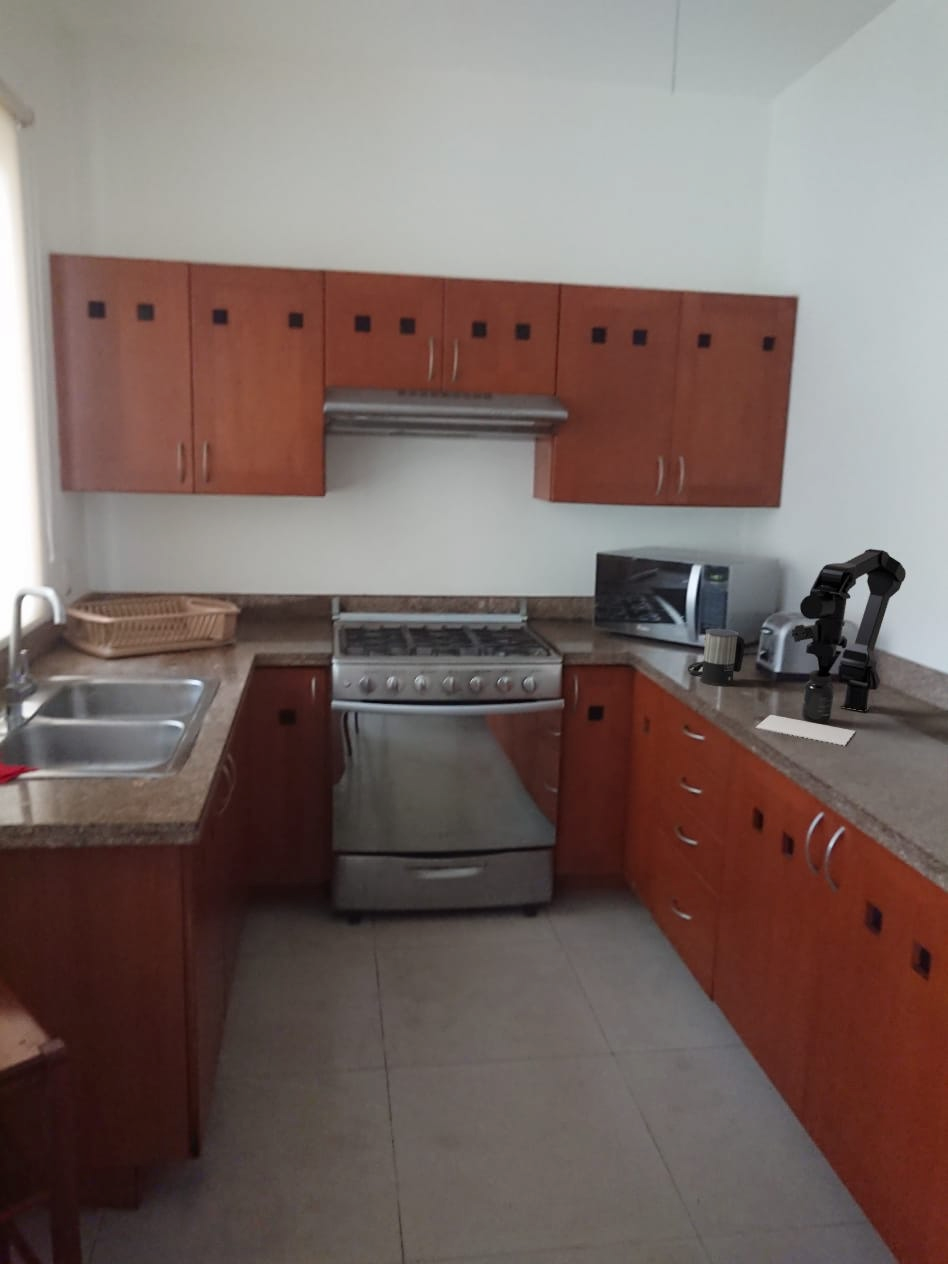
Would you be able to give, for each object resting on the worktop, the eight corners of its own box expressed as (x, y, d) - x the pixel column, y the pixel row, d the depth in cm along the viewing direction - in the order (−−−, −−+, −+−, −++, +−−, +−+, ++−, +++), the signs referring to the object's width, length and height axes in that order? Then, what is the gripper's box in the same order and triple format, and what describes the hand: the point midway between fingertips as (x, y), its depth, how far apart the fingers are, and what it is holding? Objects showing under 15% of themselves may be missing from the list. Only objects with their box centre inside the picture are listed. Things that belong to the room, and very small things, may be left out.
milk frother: (725, 688, 255) (731, 636, 252) (673, 677, 264) (678, 626, 261) (744, 680, 266) (750, 630, 263) (693, 670, 275) (699, 621, 273)
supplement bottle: (795, 715, 230) (800, 670, 226) (817, 711, 232) (822, 666, 228) (814, 725, 223) (819, 679, 220) (836, 721, 226) (842, 675, 222)
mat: (770, 715, 229) (770, 714, 229) (855, 732, 219) (855, 731, 219) (755, 728, 217) (755, 727, 217) (844, 746, 207) (844, 744, 207)
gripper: (805, 608, 237) (797, 667, 239) (788, 616, 221) (780, 679, 224) (851, 614, 231) (842, 674, 234) (837, 623, 215) (827, 687, 218)
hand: (822, 678), depth 228 cm, fingers closed
